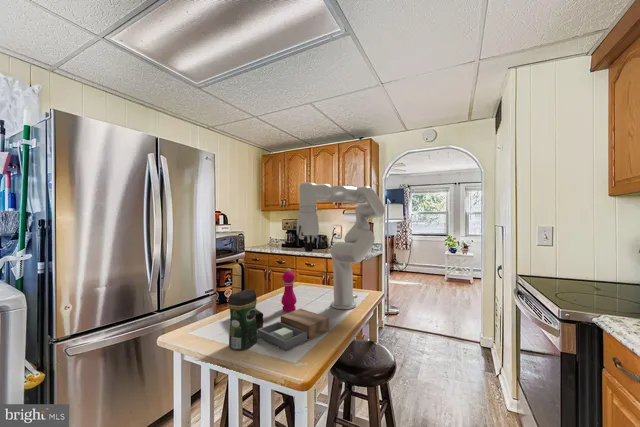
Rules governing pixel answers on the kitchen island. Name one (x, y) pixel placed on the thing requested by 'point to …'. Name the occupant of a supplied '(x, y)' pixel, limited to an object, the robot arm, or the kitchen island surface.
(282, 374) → the kitchen island surface
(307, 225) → the robot arm
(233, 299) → the coffee jar
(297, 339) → the tray
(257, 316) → the beverage carton
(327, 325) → the board
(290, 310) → the pepper mill
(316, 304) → the kitchen island surface
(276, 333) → the tile
